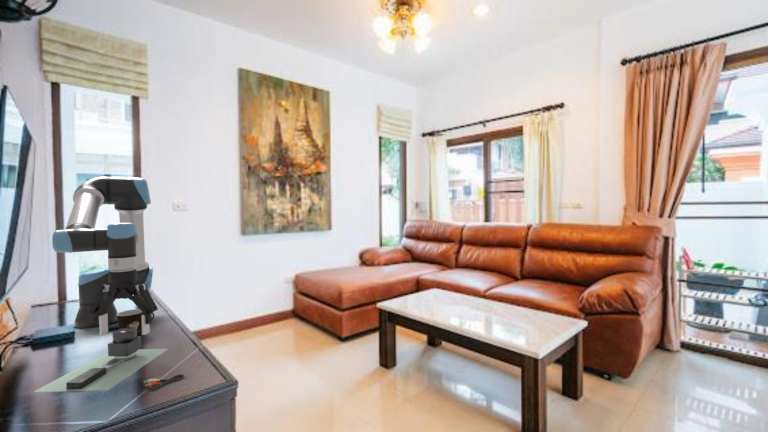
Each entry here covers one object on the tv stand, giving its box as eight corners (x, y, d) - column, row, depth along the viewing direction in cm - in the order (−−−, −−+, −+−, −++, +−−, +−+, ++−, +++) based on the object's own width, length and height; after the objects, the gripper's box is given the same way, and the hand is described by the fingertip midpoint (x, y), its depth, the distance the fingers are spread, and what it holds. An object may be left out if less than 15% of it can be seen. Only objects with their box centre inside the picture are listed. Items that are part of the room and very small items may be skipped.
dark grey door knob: (122, 348, 119) (121, 327, 119) (141, 347, 119) (141, 327, 119) (108, 356, 113) (107, 334, 113) (128, 355, 113) (127, 334, 113)
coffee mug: (114, 344, 129) (114, 317, 129) (119, 336, 137) (118, 311, 137) (152, 338, 135) (151, 312, 134) (155, 331, 142) (154, 306, 142)
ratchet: (122, 354, 119) (122, 339, 119) (141, 353, 119) (140, 339, 119) (62, 389, 96) (62, 371, 96) (85, 388, 96) (84, 370, 96)
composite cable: (183, 376, 104) (183, 368, 104) (186, 382, 100) (185, 374, 100) (143, 387, 98) (142, 378, 98) (144, 394, 94) (144, 385, 94)
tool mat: (110, 351, 123) (110, 350, 123) (168, 349, 123) (168, 348, 123) (33, 393, 95) (32, 392, 95) (108, 391, 95) (108, 390, 95)
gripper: (74, 272, 111) (76, 339, 112) (154, 271, 112) (156, 337, 113) (93, 268, 119) (95, 330, 119) (168, 267, 119) (170, 329, 120)
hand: (125, 334), depth 116 cm, fingers open, 13 cm apart
